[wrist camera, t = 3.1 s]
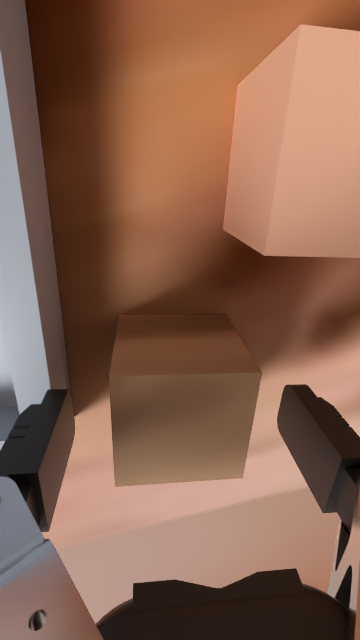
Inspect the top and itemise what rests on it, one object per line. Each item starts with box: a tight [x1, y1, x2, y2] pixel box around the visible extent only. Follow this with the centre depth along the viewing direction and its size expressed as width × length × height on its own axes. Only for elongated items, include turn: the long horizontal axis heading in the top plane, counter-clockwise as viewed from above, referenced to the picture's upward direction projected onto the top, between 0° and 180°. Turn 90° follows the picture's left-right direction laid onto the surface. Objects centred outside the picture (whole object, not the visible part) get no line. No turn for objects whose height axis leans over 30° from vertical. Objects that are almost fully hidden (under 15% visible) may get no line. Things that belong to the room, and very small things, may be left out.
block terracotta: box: [223, 24, 360, 258], centre depth 9 cm, size 4×4×4 cm
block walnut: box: [109, 314, 262, 487], centre depth 12 cm, size 4×4×4 cm
